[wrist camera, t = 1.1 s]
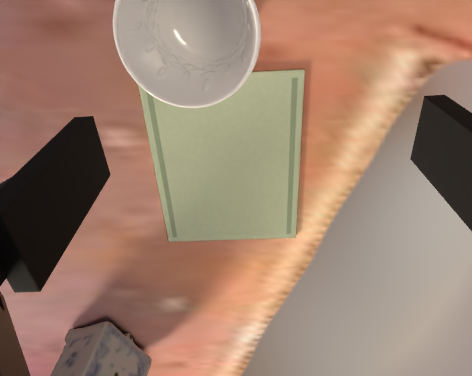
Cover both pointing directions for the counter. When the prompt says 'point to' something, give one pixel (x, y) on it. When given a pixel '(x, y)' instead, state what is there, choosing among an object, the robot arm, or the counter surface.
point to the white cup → (188, 47)
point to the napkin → (230, 160)
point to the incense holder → (101, 353)
